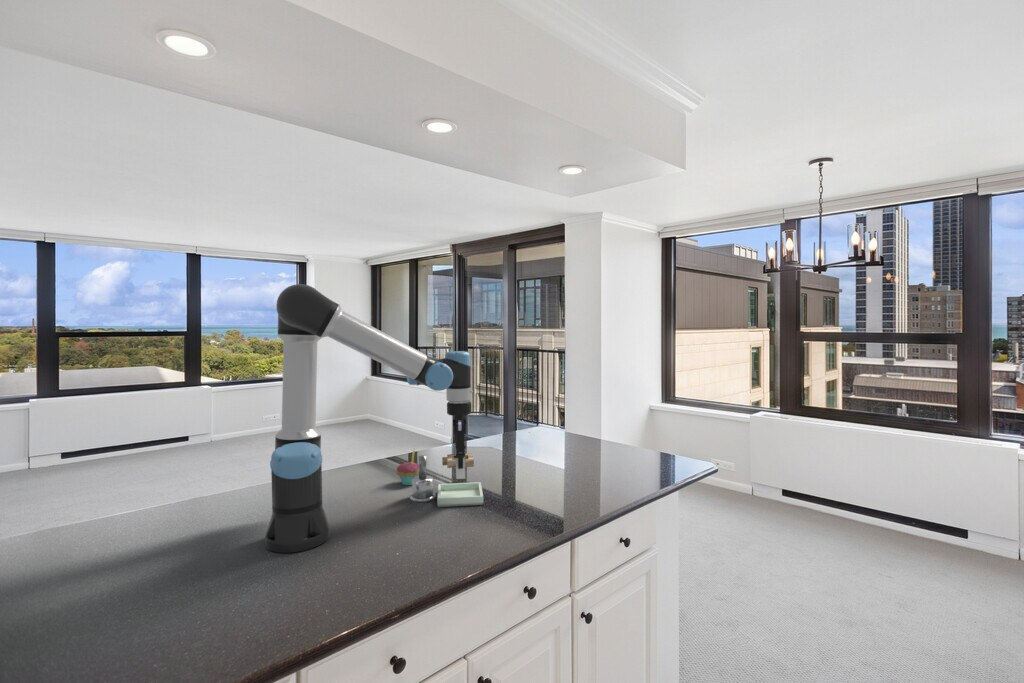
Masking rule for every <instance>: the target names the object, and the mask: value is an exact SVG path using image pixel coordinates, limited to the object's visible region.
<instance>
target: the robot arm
mask: <svg viewBox="0 0 1024 683" xmlns="http://www.w3.org/2000/svg"><path fill="white" fill-rule="evenodd" d="M276 312H277V336H278V337H279V339H281V340H282V341H283V350H282V351H283V355H282V356H283V357H282V358H283V359H282V392H281V393H282V395H281V396H282V397H281V398H282V400H281V402H282V403H281V408H282V409H281V428H280V430H279V431H278V432H277V433H276V434H275V437H274V438H275V441H274V444H275V445H274V450H273V452H272V453H271V457H270V459H271V460H270V462H269V463H270V464H269V466H270V471H271V472H270V474H271V505H272V506H271V507H272V508H271V510H272V512H271V517H270V520H269V522H268V523H269V524H268V526H267V530H266V533H265V536H264V546H265V548H266V550H268V551H271V552H273V553H274V552H275V553H283V554H284V553H285V554H288V553H297V552H299V553H300V552H303V551H307V550H311V549H314V548H316V547H318V546H321V545H323V544H324V543H326V542H327V541H328V540H329V539H330V537H331V525H330V523H329V520H328V517H327V515H326V512H325V509H324V507H323V476H322V474H323V472H322V468H323V467H322V465H323V464H322V462H323V455H322V450H321V447H322V445H321V444H322V433H321V432H320V430H318V428H316V418H317V417H316V416H317V415H316V414H317V409H316V408H317V375H318V373H317V372H318V371H317V370H318V368H317V366H318V342H319V341H320V340H321V339H323V338H326V337H327V338H330V339H332V340H334V341H336V342H338V343H339V344H342V345H344V346H346V347H347V348H350V349H352V350H354V351H356V352H357V353H360V354H362V355H363V356H366V357H368V358H370V359H372V360H374V361H376V362H378V363H380V364H382V365H384V366H386V367H388V368H390V369H392V370H394V371H395V372H398V373H400V374H402V375H404V376H406V381H407V383H408V385H410V386H419V385H420V386H421V385H422V386H423V385H424V386H425V387H427V388H429V389H431V390H432V391H435V392H436V391H438V392H439V391H440V392H441V391H445V392H446V395H445V396H446V401H447V403H446V414H447V415H448V416H454V419H453V420H452V427H453V435H454V436H455V444H454V445H455V454H456V456H454V458H456V468H455V473H456V474H455V478H456V480H462V479H466V467H465V454H466V453H465V450H466V449H467V446H466V445H465V435H466V426H467V420H466V418H464V416H468V415H470V414H471V413H472V402H471V401H470V400H472V394H473V392H474V390H472V386H471V385H472V384H471V383H472V381H471V380H472V378H471V377H472V372H471V371H472V364H471V354H470V353H469V352H468V351H464V350H459V351H458V350H456V351H454V350H453V351H447V352H446V353H445V357H442V358H433V357H431V356H428V355H427V354H425V353H423V352H422V351H420V350H417V349H416V348H414V347H412V346H410V345H408V344H406V343H404V342H402V341H400V340H398V339H396V338H395V337H393V336H391V335H389V334H387V333H386V332H384V331H382V330H379V329H378V328H376V327H374V326H372V325H371V324H369V323H366V322H365V321H362V320H361V319H359V318H357V317H355V316H353V315H351V314H350V313H348V312H346V311H345V310H342V306H341V304H338V303H337V302H335V301H333V300H332V299H330V298H329V297H327V296H326V295H324V294H323V293H321V292H320V291H318V290H317V289H316V288H314V287H312V286H311V285H308V284H303V283H296V284H293V285H289V286H288V287H285V288H284V289H283V290H282V291H281V292H280V294H279V295H278V297H277V300H276Z"/></svg>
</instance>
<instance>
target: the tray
mask: <svg viewBox="0 0 1024 683" xmlns="http://www.w3.org/2000/svg"><path fill="white" fill-rule="evenodd" d="M436 497H437V498H436V499H437V502H436V503H437V508H440V507H441V508H444V507H463V506H465V507H466V506H482V505H484V494H483V487H482V483H481V481H479V482H477V481H475V482H457V483H455V482H454V483H438V487H437V496H436Z"/></svg>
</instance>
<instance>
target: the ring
mask: <svg viewBox="0 0 1024 683" xmlns="http://www.w3.org/2000/svg"><path fill="white" fill-rule="evenodd" d="M446 455H447V456H443V457H441V458H442V459H441V460H442V463H441V464H442V466H447V469H452V468H453V469H456V458H454V456H456V453H453V454H446ZM474 467H475V461H474V453H465V468H474Z"/></svg>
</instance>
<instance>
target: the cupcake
mask: <svg viewBox="0 0 1024 683" xmlns="http://www.w3.org/2000/svg"><path fill="white" fill-rule="evenodd" d="M414 458H415V448H414V449H413V450H412V454H411V461H409V462H403V463H400V464H399V465H398V466H397V467H396V470H395V472H396V475H398V477H399V478H400V481H401V484H402V485H403V486H412V479H413V478H414V477H417V476H419V463H418V462H414Z"/></svg>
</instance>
